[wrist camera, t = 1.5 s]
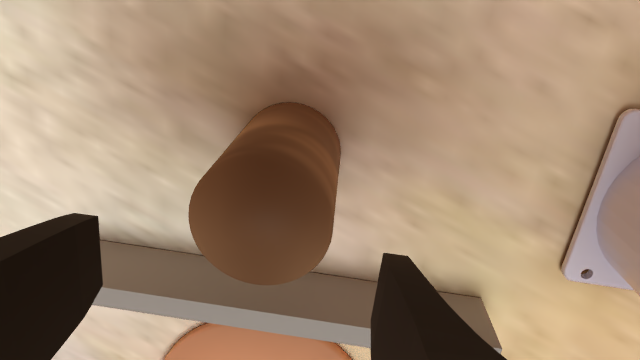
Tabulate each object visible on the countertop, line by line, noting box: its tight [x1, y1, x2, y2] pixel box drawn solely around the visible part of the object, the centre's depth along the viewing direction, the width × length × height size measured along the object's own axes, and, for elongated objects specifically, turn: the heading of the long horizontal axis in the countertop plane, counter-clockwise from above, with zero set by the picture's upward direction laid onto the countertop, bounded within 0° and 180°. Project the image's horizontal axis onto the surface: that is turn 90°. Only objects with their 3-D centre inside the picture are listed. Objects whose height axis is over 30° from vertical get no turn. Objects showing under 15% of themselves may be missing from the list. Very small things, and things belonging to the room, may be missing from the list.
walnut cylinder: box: [189, 102, 341, 285], centre depth 17 cm, size 4×4×7 cm
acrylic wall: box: [92, 240, 502, 354], centre depth 21 cm, size 20×1×4 cm, turn 83°
